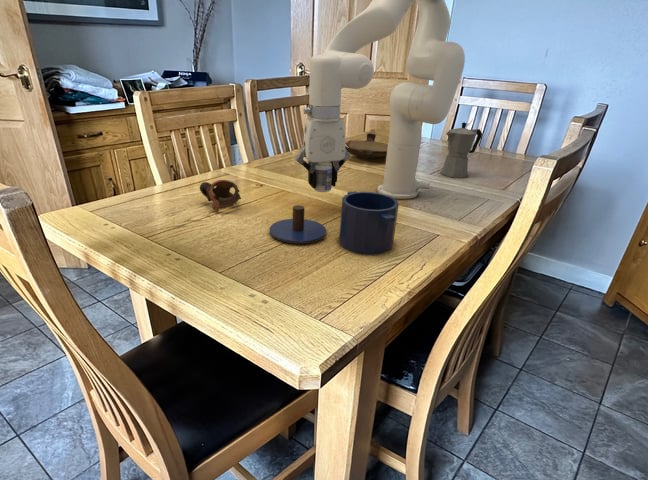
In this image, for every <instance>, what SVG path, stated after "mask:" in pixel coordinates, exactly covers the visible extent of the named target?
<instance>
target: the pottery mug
mask: <svg viewBox="0 0 648 480" xmlns="http://www.w3.org/2000/svg"><path fill="white" fill-rule="evenodd" d="M231 189H234V193H232V192H230V191H231ZM199 191H200V193H201V194H202V195H203V196H204V197H205V198H207V201H208V202H209V203H211V202H213V203H212V210H213V211H215V212H217V213H218V212H219V211H220V210H223V209H226V208H231V207H233V206H234V204H237V203H238V201H239V200H242V197H241V195H240V189H239V188H238V185H237V184H236V183H234V182H233V181H230V180H229V179H218V180H216V181H214V182H212V183H210V182H206V181H205V182H202V183H201V184H200V185H199Z"/></svg>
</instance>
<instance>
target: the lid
mask: <svg viewBox="0 0 648 480" xmlns="http://www.w3.org/2000/svg"><path fill="white" fill-rule="evenodd" d="M269 234H270V235H271V237H273V238H274V239H276V240H278V241H281V242H285V243H289V244H309V243H315V242H318V241H320V240H322V239H323V238H325V237H326V234H327V227H326V226H325V225H324V224H322V223H320V222H318V221H316V220H311V219H306V218H305V206H304V205H300V204H299V205H297V204H296V205H293V206H292V218H286V219H281V220H278V221H276V222H274V223H272V224H271V225H270V226H269Z"/></svg>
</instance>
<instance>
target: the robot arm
mask: <svg viewBox="0 0 648 480" xmlns="http://www.w3.org/2000/svg"><path fill="white" fill-rule="evenodd" d="M414 2H416V3H417V7H418V21H417V26H416V29H415V34H414V36H413V38H412V39H413V40H412V43H411V46H410V49H409V53H408V55H407V60H406V65H405V67H406V72H407V74H408V75H409V76H411V77H412V78H415V79H420V80H424V81H433V82H432V85H430V84H425V83H419V82H411V81H406V82H400V83H398V84H397V85H396V86H394V88H393V89H392V91H391V93H390V96H389V133H388V141H387V144H388V148H387V156H385V166H384V173H383V182H382V184H380V185H378V187H377V190H376V191H377V193H381V194H384V195H388V196H391V197H393V198H394V199H396V200H409V199H414V198H417V196H418V195H419V190H420V189H421V190H422V189H423V190H429V189H430V185H431V184H430V182H424V181H423V180H417V179H416V175H417V168H418V162H419V156H420V151H421V150H420V149H421V143H422V136H423V135H422V128H421V125H420V123H425V124H430V125H438V124H440V123H442V122H443V121H444V120H445V119H446V118H447V116H448V114H449V112H450V110H451V107H452V105H453V101H454V99H455V96H456V93H457V90H458V87H459V84H460V81H461V78H462V75H463V72H464V68H465V61H466V60H465V59H466V55H465V51H464V48H463V47H462V46H461V45H460V44H459V43H457V42H454V41H447V38H448V34H449V30H450V27H451V15H450V11H449V8H448V5H447V4H446V0H371V1H370V3H369V4H368V6H367V7H366V8H365V9H364V10H363V11H361V12H360V13H358V14H357V15H356V16H355V17H353V18H352V19H351V20H350V21H349V22H347V23H346V24H345V25H344V26H342V27H341V28H340V29H339V31H337V32H336V33H335V34H334V36H333V37H332V39H331V41H330V42H329V44H328V45H327V46H326V48H325V50H324V52H323V53H321V54H314V55H312V56H311V58H310V60H309V88H308V89H309V90H308V91H309V92H308V95H309V96H308V97H309V99H308V100H309V101H308V102H309V103H308V106H307V107H303V111H302V112H303V114H304V115H308V117H306V120H305V124H304V130H303V141H302V148H301V150H300V151H299V152H298V154H297V156H296V157H295V158H294V159H295V161H296V163H298V164H300V165H301V166H303V168H305V169H306V170H307V172H308V173H307V183H308V185H309V187H311V188H312V189H314V188H316V173H315V166H316V163H317V162H330V161H331V164H330V165H331V166H332V185H331V187H336V186H337V185H336V183H337V182H338V172H339V171H340V169H341V167H342V166H344V164H345V163H346V162H347V161H348V160H349V159H351V156H352V155H351V153H349V152H348V151H347V150H346V148H345V146H346V144H345V143H346V132H345V131H346V130H345V122H344V118H342V117H341V103H342V101H341V100H342V89H353V90H360V89H363V88H365V87H366V86H368V85H369V84H370V83H371V81H372V79H373V78H374V72H375V68H374V64H373V62H372V61H371V59H370V58H369V57H368V56H366V55H365V54H362V53H357V52H358V51H359V50H361V49H362V48H364V47H365V46H368V45H369V44H373V43H375V42H378V41H381V40H383V39H386V38H388V37H389V36H391V35H393V34H394V33H395V31H397V30H398V27H399V26H400V24H401V23H402V21H403V19H404V17H405V16H406V14H407V13H408V12H409V10H410V8H411V6H412V5H413V3H414ZM304 158H305V159H306V160H307V161H306V160H304Z"/></svg>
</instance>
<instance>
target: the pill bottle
mask: <svg viewBox="0 0 648 480" xmlns="http://www.w3.org/2000/svg"><path fill="white" fill-rule="evenodd" d="M315 173H316V188H313V190H314V191H315V192H317V193H318V192H319V193H328V192H330V191H332V166H331V161H330V162H317V163H316V166H315Z"/></svg>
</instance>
